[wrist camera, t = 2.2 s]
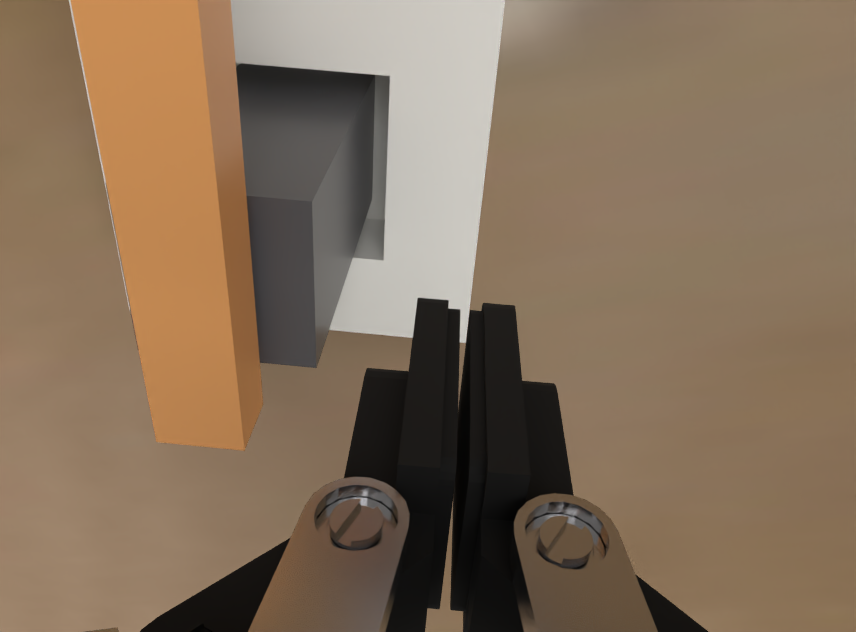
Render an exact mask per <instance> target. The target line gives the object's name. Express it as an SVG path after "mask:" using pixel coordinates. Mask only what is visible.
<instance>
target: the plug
mask: <svg viewBox="0 0 856 632" xmlns="http://www.w3.org/2000/svg"><path fill="white" fill-rule="evenodd" d="M236 73H237V86H238V98H239V111H240V123H241V135H242V148H243V160H244V173H245V185H246V197H247V210H248V222H249V235H250V247H251V259H252V272H253V284H254V297H255V309H256V321H257V334H258V346H259V359H260V363H271V364H281V365H292V366H302V367H313V368H317V365H318V362H319V359H320V356H321V353H322V350H323V347H324V343H325V340H326V337H327V334H328V331H329V328H330V325H331V322H332V319H333V316H334V313H335V310H336V307H337V304H338V301H339V298H340V295H341V292H342V289H343V286H344V283H345V280H346V277H347V274H348V271H349V268H350V265H351V262H352V259H353V256H354V253H355V250H356V247H357V244H358V240H359V237H360V234H361V231H362V228H363V225H364V222H365V219H366V216H367V213H368V210H369V207H370V204H371V201H372V191H373V149H374V107H375V75H372V74H361V73H349V72H337V71H326V70H314V69H302V68H291V67H279V66H267V65H256V64H244V63H240V64H239V65H238V66H237V67H236ZM105 184H106V183H105ZM106 189H107V185H106ZM107 194H108V190H107ZM108 199H109V196H108ZM109 204H110V201H109ZM110 209H111V206H110ZM111 214H112V211H111ZM112 220H113V216H112ZM113 225H114V221H113ZM114 230H115V226H114ZM115 235H116V231H115ZM116 240H117V237H116ZM117 245H118V242H117ZM118 250H119V247H118ZM119 255H120V252H119ZM120 260H121V257H120ZM121 266H122V262H121ZM122 271H123V267H122ZM123 276H124V273H123ZM124 281H125V278H124ZM125 286H126V283H125ZM126 291H127V288H126ZM127 296H128V293H127ZM128 301H129V298H128ZM129 306H130V303H129ZM130 312H131V308H130ZM131 317H132V314H131ZM132 322H133V319H132ZM133 327H134V324H133ZM134 332H135V329H134ZM135 337H136V334H135ZM136 342H137V339H136ZM137 347H138V344H137ZM138 351H139V349H138Z"/></svg>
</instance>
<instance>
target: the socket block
mask: <svg viewBox="0 0 856 632" xmlns="http://www.w3.org/2000/svg"><path fill="white" fill-rule="evenodd" d="M69 4H70V9H71V14H72V19H73V24H74V29H75V34H76V39H77V44H78V50H79V55H80V60H81V65H82V70H83V75H84V80H85V85H86V90H87V95H88V101H89V106H90V111H91V116H92V121H93V126H94V131H95V136H96V141H97V146H98V152H99V157H100V162H101V167H102V172H103V177H104V182H105V183H106V180H105V175H104V170H103V165H102V160H101V155H100V149H99V144H98V139H97V134H96V129H95V124H94V119H93V114H92V108H91V103H90V98H89V93H88V88H87V83H86V78H85V72H84V67H83V62H82V57H81V52H80V47H79V42H78V37H77V31H76V26H75V21H74V16H73V11H72V6H71V1H70V0H69ZM504 5H505V0H231V11H232V24H233V36H234V49H235V61H236V67H237V66H238V65H239V64H240V63H244V64H256V65H267V66H279V67H291V68H302V69H314V70H326V71H337V72H349V73H361V74H372V75H375V107H374V149H373V191H372V201H371V204H370V207H369V210H368V213H367V216H366V219H365V222H364V225H363V228H362V231H361V234H360V237H359V240H358V244H357V247H356V250H355V253H354V256H353V259H352V262H351V265H350V268H349V271H348V274H347V277H346V280H345V283H344V286H343V289H342V292H341V295H340V298H339V301H338V304H337V307H336V310H335V313H334V316H333V319H332V322H331V325H330V328H329V330H335V331H346V332H357V333H367V334H378V335H388V336H399V337H409V338H413V332H414V324H415V315H416V307H417V299H418V298H429V299H441V300H449V305H448V308H449V309H460V342H462V343H466V335H467V326H468V317H469V309H470V300H471V291H472V283H473V274H474V265H475V257H476V248H477V239H478V231H479V222H480V213H481V204H482V196H483V187H484V178H485V170H486V161H487V152H488V144H489V135H490V126H491V118H492V109H493V100H494V92H495V83H496V74H497V66H498V57H499V48H500V40H501V31H502V22H503V14H504ZM105 187H106V184H105ZM106 192H107V189H106ZM107 197H108V194H107ZM108 203H109V199H108ZM109 208H110V204H109ZM110 213H111V209H110ZM111 218H112V214H111ZM112 223H113V220H112ZM113 228H114V225H113ZM114 233H115V230H114ZM115 238H116V235H115ZM116 243H117V240H116ZM117 248H118V245H117ZM118 254H119V250H118ZM119 259H120V255H119ZM120 264H121V260H120ZM121 269H122V266H121ZM122 274H123V271H122ZM123 279H124V276H123ZM124 284H125V281H124ZM125 289H126V286H125ZM126 294H127V291H126ZM127 299H128V296H127ZM128 305H129V301H128ZM129 310H130V306H129Z"/></svg>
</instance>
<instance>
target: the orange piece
mask: <svg viewBox="0 0 856 632" xmlns="http://www.w3.org/2000/svg"><path fill="white" fill-rule="evenodd" d="M70 1H71V6H72V11H73V16H74V21H75V26H76V31H77V37H78V42H79V47H80V52H81V57H82V62H83V67H84V72H85V78H86V83H87V88H88V93H89V98H90V103H91V108H92V114H93V119H94V124H95V129H96V134H97V139H98V144H99V149H100V155H101V160H102V165H103V170H104V175H105V180H106V185H107V190H108V196H109V201H110V206H111V211H112V216H113V221H114V226H115V231H116V237H117V242H118V247H119V252H120V257H121V262H122V267H123V273H124V278H125V283H126V288H127V293H128V298H129V303H130V308H131V314H132V319H133V324H134V329H135V334H136V339H137V344H138V349H139V355H140V360H141V365H142V370H143V375H144V380H145V385H146V390H147V396H148V401H149V406H150V411H151V416H152V421H153V426H154V432H155V437H156V442H162V443H172V444H183V445H193V446H203V447H213V448H223V449H233V450H243V451H245V448H246V446H247V443H248V441H249V438H250V436H251V433H252V431H253V428H254V426H255V423H256V421H257V418H258V416H259V413H260V411H261V408H262V406H263V396H262V383H261V371H260V359H259V346H258V334H257V321H256V309H255V297H254V284H253V272H252V259H251V247H250V235H249V222H248V210H247V197H246V185H245V173H244V160H243V148H242V135H241V123H240V111H239V98H238V86H237V73H236V61H235V49H234V36H233V24H232V11H231V0H70Z"/></svg>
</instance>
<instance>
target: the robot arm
mask: <svg viewBox="0 0 856 632" xmlns="http://www.w3.org/2000/svg"><path fill="white" fill-rule="evenodd" d="M448 305H449V300H441V299H429V298H418V299H417V307H416V315H415V324H414V332H413V340H412V349H411V357H410V365H409V372H408V371H396V370H384V369H372V368H367V370H366V373H365V377H364V382H363V387H362V392H361V397H360V402H359V406H358V411H357V416H356V421H355V426H354V431H353V436H352V441H351V446H350V451H349V456H348V461H347V466H346V471H345V476H344V478H343V479H338V480H336V481H333V482H331V483H328V484H326V485H324V486H323V487H322V488H320V489H319V490H318V491H316V492H315V493H314V494H313V495H312V497H311V498H310V499H309V501H308V502H307V504H306V505H305V507H304V510H303V512H302V514H301V516H300V518H299V521H298V523H297V525H296V527H295V529H294V532H293V534H292V536H291V538H289V539H288V540H286V541H284V542H283V543H281V544H279V545H278V546H276V547H274V548H273V549H271V550H269V551H268V552H266V553H264V554H263V555H261V556H259V557H258V558H256V559H254V560H253V561H251V562H249V563H248V564H246V565H244V566H242V567H241V568H239V569H237V570H236V571H234V572H232V573H231V574H229V575H227V576H226V577H224V578H222V579H221V580H219V581H217V582H216V583H214V584H212V585H211V586H209V587H207V588H206V589H204V590H202V591H201V592H199V593H197V594H196V595H194V596H192V597H191V598H189V599H187V600H186V601H184V602H182V603H181V604H179V605H177V606H176V607H174V608H172V609H171V610H169V611H167V612H166V613H164V614H162V615H161V616H159V617H157V618H156V619H155V620H153V621H152V622H151V623H149V624H148V625H147V626H146V627H144V628H143V629H142V630H141V631H140V632H425V625H426V616H427V608H432V609H439V608H440V601H441V593H442V585H443V576H444V568H445V560H446V552H447V543H448V535H449V527H450V519H451V510H452V502H453V531H452V566H451V601H450V608H451V610H455V611H463V632H708V631H707V630H706V629H704V628H703V627H702V626H700V625H699V624H698V623H697V622H695V621H694V620H693V619H692V618H690V617H689V616H688V615H686V614H685V613H684V612H683V611H681V610H680V609H679V608H678V607H676V606H675V605H674V604H672V603H671V602H670V601H669V600H667V599H666V598H665V597H663V596H662V595H661V594H660V593H658V592H657V591H656V590H655V589H653V588H652V587H651V586H649V585H648V584H647V583H646V582H644V581H643V580H642V579H641V578H639V577H638V576H637V575H635V572H634V570H633V567H632V565H631V562H630V560H629V557H628V555H627V552H626V550H625V547H624V545H623V542H622V539H621V537H620V534H619V532H618V530H617V528H616V527H615V525H614V523H613V522H612V520H611V519H610V518H609V517H608V516H607V515H606V514H605V513H604V512H603V511H602V510H601V509H600V508H598V507H597V506H595V505H593V504H592V503H590V502H588V501H587V500H585V499H581V498H578V497H575V496H573V490H572V483H571V477H570V470H569V464H568V457H567V451H566V444H565V438H564V432H563V425H562V419H561V412H560V406H559V399H558V393H557V389H556V386H555V384H553V383H541V382H529V381H522V375H521V364H520V354H519V343H518V332H517V321H516V311H515V306H514V305H502V304H490V303H483V305H482V311H474V310H470V314H469V322H468V331H467V339H466V348H465V357H464V365H463V374H462V383H461V391H460V400H459V408H458V388H459V348H460V309H449V308H448ZM453 494H454V496H453ZM86 632H119V631H118V627H117V628H109V629H101V630H94V631H86Z"/></svg>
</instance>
